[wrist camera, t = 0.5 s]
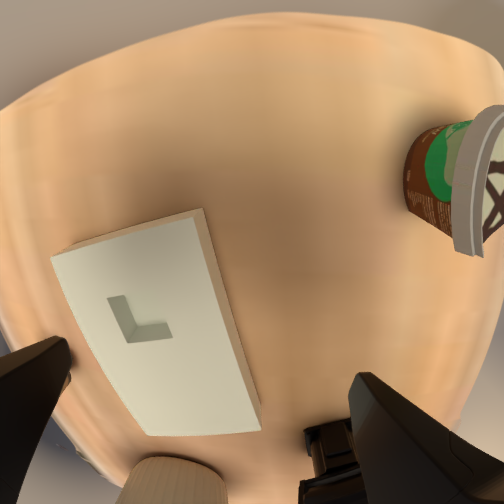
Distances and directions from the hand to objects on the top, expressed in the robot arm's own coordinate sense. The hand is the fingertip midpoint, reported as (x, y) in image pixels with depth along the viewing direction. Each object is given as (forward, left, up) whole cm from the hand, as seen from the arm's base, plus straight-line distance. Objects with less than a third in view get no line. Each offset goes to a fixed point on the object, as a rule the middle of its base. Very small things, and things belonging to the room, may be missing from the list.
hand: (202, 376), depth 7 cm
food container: (+4, -17, -14) cm, 23 cm away
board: (-7, +8, -14) cm, 18 cm away
